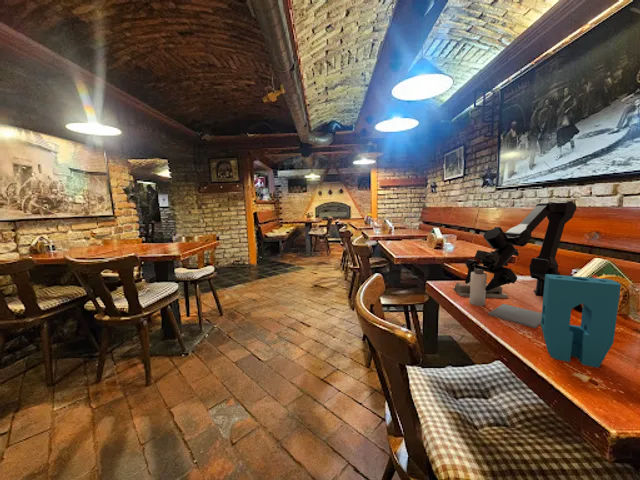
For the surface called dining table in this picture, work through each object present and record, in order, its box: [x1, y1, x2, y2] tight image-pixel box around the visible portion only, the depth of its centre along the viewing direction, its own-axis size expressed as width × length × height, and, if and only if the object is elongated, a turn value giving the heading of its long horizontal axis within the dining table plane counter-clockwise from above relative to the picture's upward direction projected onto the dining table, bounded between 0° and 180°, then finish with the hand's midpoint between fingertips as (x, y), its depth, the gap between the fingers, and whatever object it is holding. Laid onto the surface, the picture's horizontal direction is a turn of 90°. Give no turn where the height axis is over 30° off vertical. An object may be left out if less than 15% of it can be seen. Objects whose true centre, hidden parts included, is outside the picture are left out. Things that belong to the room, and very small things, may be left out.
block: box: [540, 274, 622, 368], centre depth 61 cm, size 12×5×20 cm, turn 61°
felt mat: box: [487, 303, 542, 329], centre depth 86 cm, size 14×13×1 cm
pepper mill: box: [468, 269, 488, 307], centre depth 97 cm, size 5×5×14 cm
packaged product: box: [452, 281, 509, 299], centre depth 109 cm, size 18×5×10 cm
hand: (475, 286), depth 97 cm, fingers open, 9 cm apart
